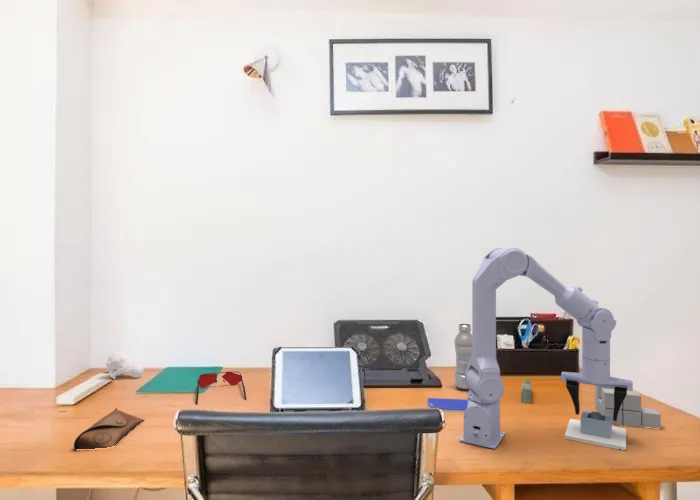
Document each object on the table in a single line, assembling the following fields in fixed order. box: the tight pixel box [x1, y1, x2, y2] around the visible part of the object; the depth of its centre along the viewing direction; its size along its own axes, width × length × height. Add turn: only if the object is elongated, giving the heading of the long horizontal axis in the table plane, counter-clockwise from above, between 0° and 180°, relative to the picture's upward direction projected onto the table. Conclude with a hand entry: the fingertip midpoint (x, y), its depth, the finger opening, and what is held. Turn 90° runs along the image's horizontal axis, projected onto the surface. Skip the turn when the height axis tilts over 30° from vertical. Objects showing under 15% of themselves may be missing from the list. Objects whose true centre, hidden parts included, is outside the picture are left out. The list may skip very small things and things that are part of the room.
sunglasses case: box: [73, 407, 145, 451], centre depth 105 cm, size 18×7×7 cm, turn 4°
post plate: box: [564, 410, 627, 451], centre depth 104 cm, size 12×12×5 cm
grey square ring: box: [580, 409, 613, 439], centre depth 105 cm, size 6×6×4 cm
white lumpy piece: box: [105, 351, 145, 380], centre depth 152 cm, size 6×8×12 cm
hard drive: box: [426, 397, 467, 413], centre depth 124 cm, size 2×8×12 cm
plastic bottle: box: [453, 323, 472, 390], centre depth 140 cm, size 6×7×20 cm
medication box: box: [520, 378, 532, 404], centre depth 133 cm, size 12×3×4 cm, turn 159°
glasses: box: [195, 371, 247, 405], centre depth 135 cm, size 14×16×5 cm
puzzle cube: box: [594, 385, 662, 429], centre depth 116 cm, size 12×12×8 cm
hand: (595, 416), depth 104 cm, fingers open, 7 cm apart
